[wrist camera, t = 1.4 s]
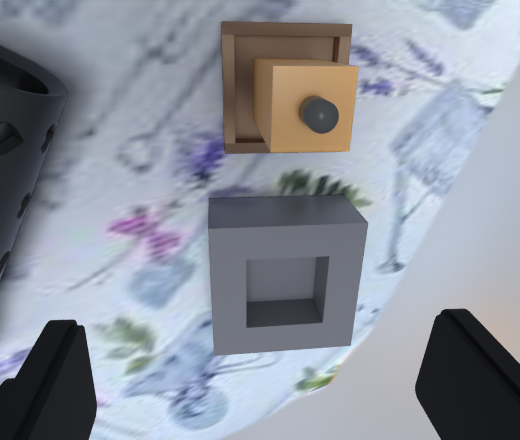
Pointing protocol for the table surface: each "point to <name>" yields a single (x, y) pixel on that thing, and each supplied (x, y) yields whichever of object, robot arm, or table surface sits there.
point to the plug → (304, 104)
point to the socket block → (284, 272)
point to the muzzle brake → (23, 137)
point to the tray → (268, 46)
